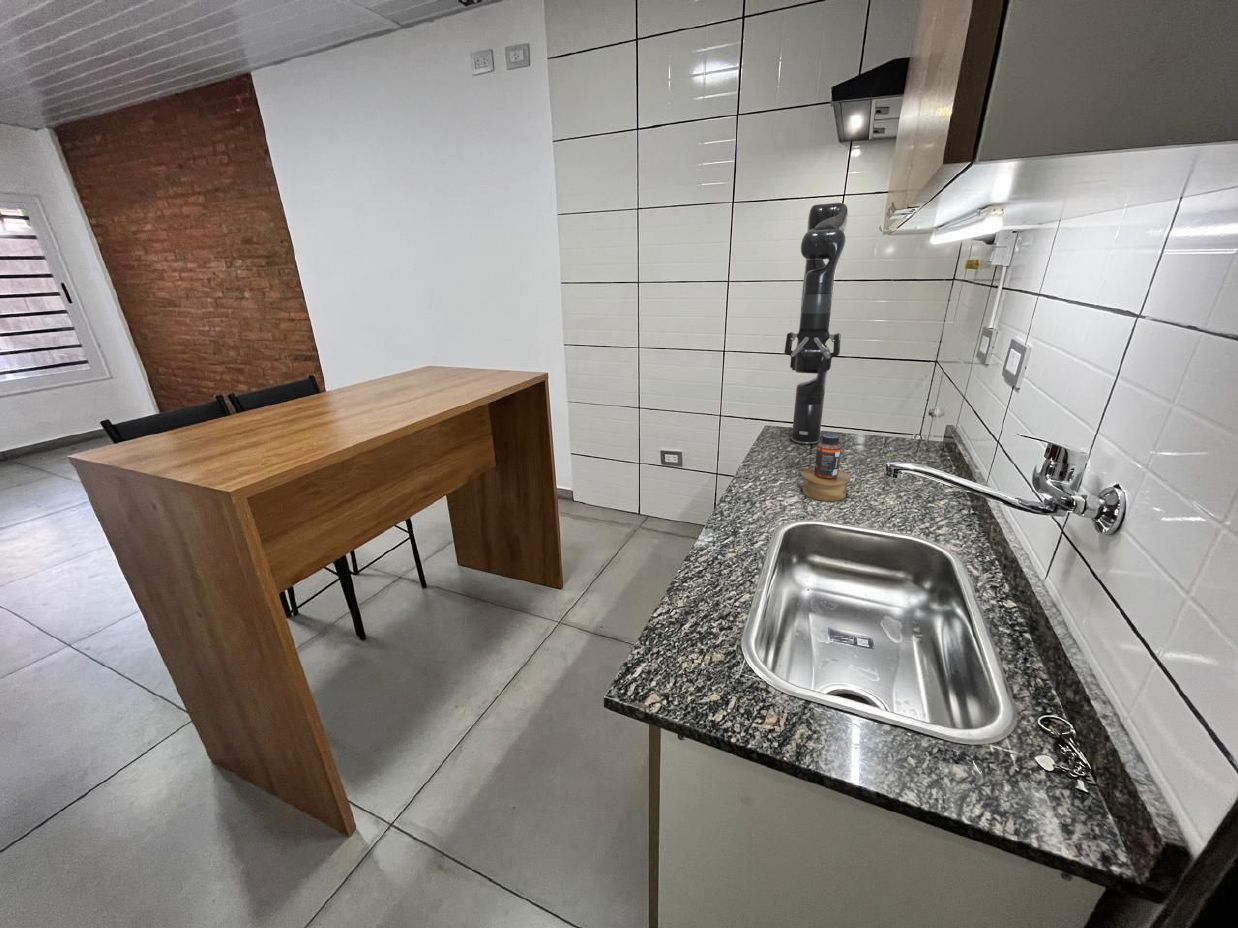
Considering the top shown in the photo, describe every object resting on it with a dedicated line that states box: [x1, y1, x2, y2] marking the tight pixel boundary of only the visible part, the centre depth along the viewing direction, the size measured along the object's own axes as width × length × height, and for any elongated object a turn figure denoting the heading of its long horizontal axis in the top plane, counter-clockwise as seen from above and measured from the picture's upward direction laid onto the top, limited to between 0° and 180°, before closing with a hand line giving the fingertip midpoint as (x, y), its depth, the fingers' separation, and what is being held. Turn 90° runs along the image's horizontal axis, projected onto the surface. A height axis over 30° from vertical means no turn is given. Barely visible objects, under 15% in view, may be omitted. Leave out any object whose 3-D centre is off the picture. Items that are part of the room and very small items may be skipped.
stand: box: [801, 467, 851, 502], centre depth 131 cm, size 12×12×5 cm
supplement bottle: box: [814, 432, 843, 479], centre depth 128 cm, size 6×6×11 cm
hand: (809, 370), depth 137 cm, fingers open, 8 cm apart
